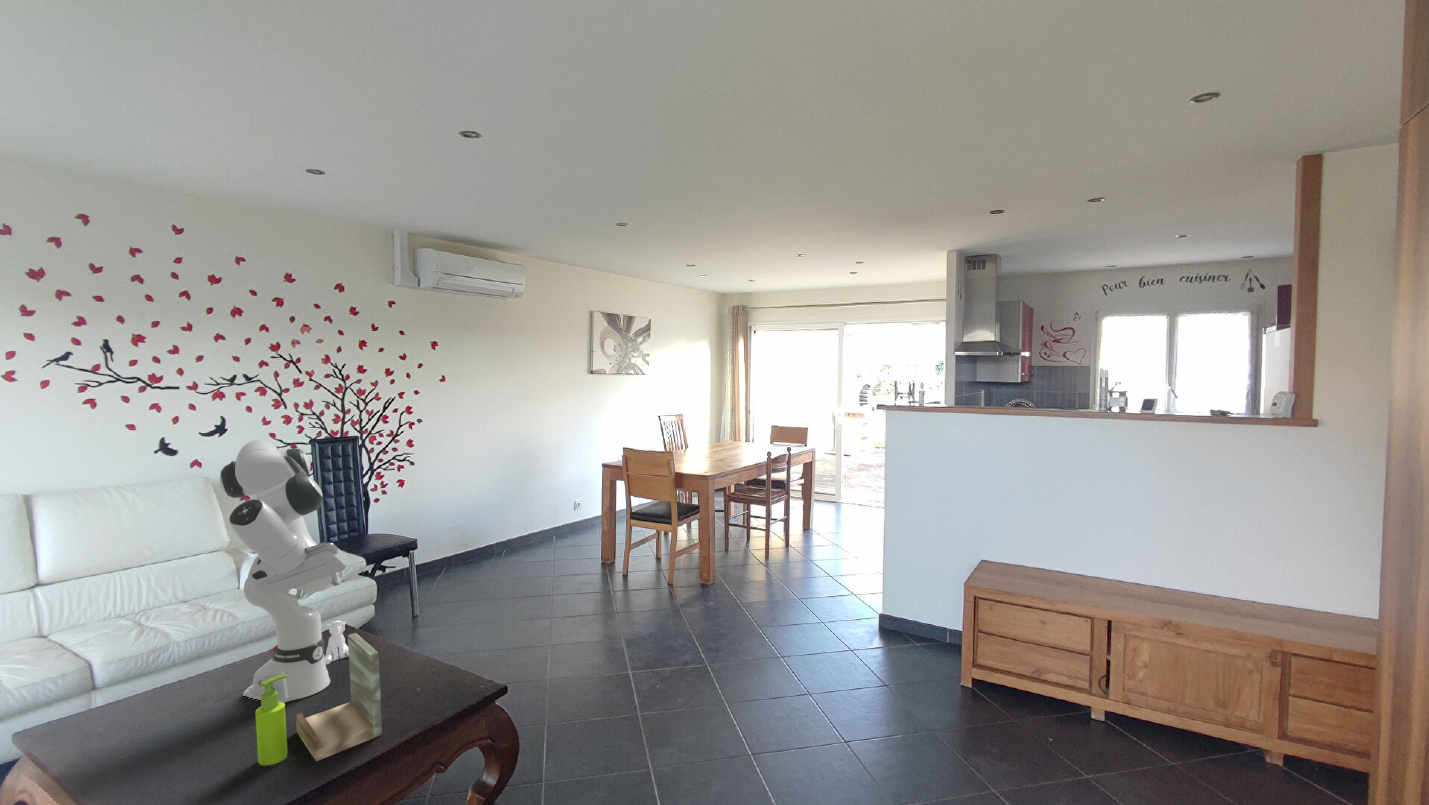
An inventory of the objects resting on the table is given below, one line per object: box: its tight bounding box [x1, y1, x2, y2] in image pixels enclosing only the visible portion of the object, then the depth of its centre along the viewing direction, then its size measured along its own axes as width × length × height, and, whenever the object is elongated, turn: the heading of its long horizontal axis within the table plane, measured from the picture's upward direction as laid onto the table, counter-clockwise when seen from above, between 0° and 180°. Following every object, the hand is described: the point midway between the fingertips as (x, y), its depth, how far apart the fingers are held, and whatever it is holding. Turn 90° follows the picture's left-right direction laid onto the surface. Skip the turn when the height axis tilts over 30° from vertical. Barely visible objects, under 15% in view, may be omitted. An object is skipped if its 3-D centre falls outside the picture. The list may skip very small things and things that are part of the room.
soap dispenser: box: [254, 674, 288, 765], centre depth 153 cm, size 6×7×20 cm
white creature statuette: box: [324, 620, 349, 666], centre depth 207 cm, size 10×9×12 cm
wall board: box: [295, 632, 383, 762], centre depth 163 cm, size 15×18×22 cm
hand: (319, 590), depth 160 cm, fingers open, 8 cm apart
